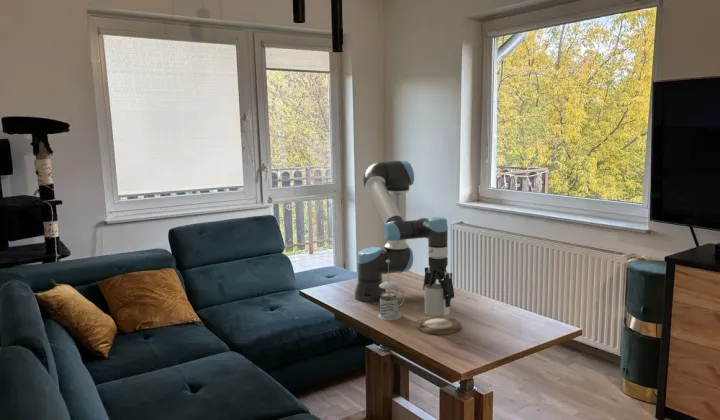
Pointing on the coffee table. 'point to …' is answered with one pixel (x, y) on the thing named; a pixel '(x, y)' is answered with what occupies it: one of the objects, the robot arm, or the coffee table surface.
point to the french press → (390, 312)
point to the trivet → (438, 325)
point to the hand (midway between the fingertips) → (438, 311)
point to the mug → (434, 300)
